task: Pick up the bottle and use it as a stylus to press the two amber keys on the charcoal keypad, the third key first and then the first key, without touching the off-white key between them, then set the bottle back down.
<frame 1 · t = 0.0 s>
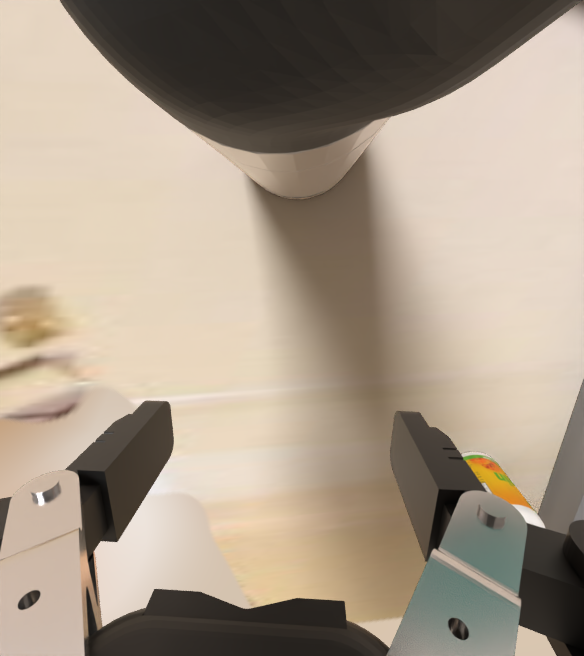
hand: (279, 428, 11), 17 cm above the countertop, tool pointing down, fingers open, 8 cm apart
supplement bottle: (468, 470, 32), on the countertop
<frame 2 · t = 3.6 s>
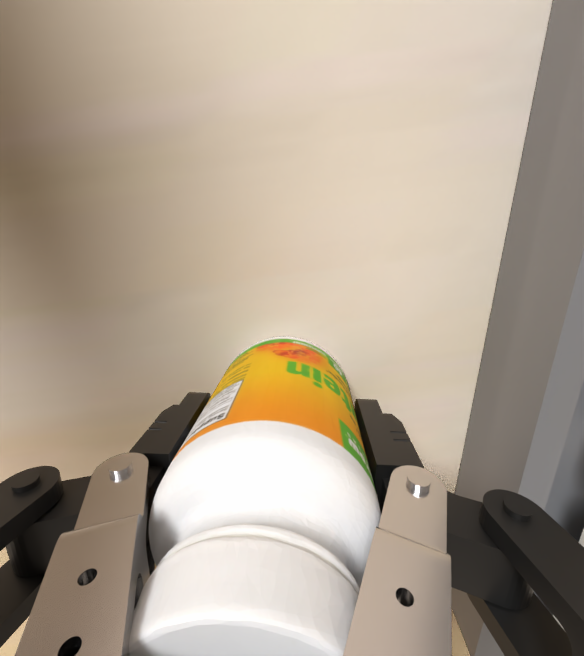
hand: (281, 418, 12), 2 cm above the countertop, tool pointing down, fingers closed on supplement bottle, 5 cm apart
supplement bottle: (286, 390, 14), on the countertop, touching gripper
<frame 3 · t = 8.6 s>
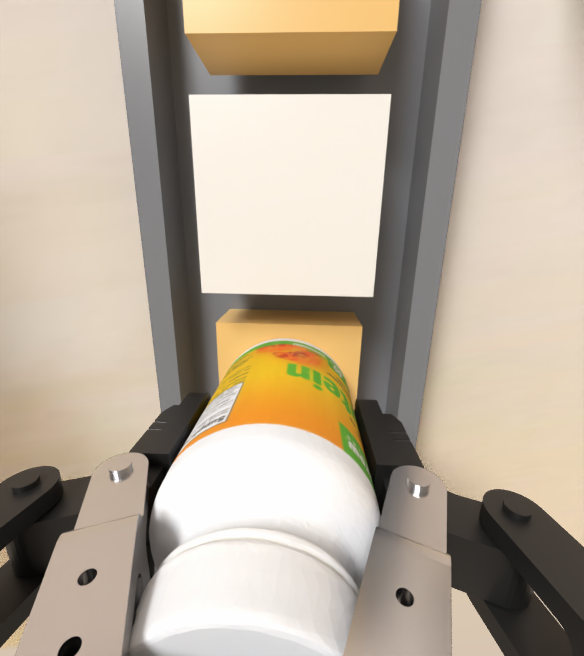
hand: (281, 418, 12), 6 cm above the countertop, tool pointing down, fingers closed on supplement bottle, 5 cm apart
key 2: (289, 206, 11), point 4 cm above the countertop, slide at 0.0 cm
keypad base: (293, 289, 17), on the countertop
key 3: (289, 378, 15), point 3 cm above the countertop, slide at 1.5 cm, touching supplement bottle, keypad base
supplement bottle: (286, 391, 14), point 4 cm above the countertop, touching gripper, key 3
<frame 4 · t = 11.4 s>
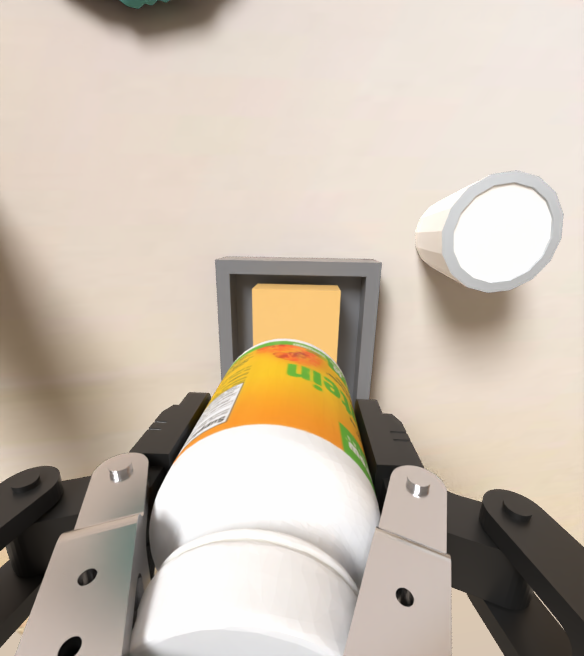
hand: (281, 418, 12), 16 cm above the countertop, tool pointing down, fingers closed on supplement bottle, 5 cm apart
white cup: (449, 234, 25), on the countertop
keypad base: (295, 426, 31), on the countertop
key 1: (296, 327, 23), point 4 cm above the countertop, slide at 0.0 cm
supplement bottle: (286, 391, 14), point 14 cm above the countertop, touching gripper
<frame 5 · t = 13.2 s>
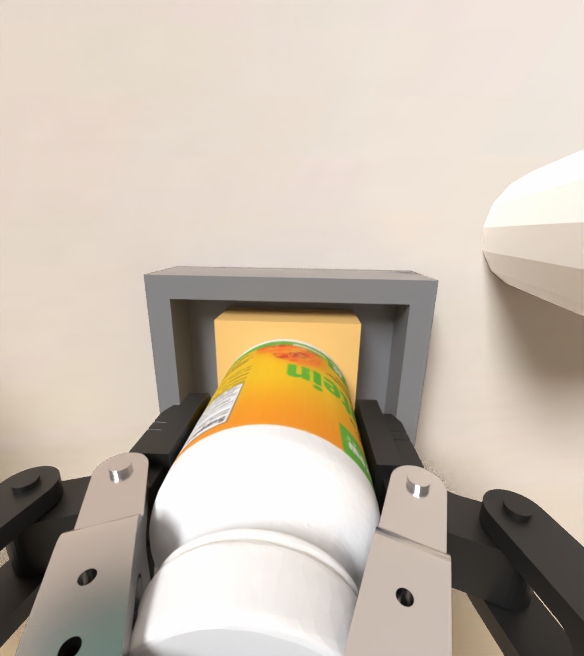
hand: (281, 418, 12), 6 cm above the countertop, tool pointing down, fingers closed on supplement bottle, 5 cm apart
white cup: (539, 231, 15), on the countertop
keypad base: (288, 515, 21), on the countertop
key 1: (288, 376, 15), point 3 cm above the countertop, slide at 1.5 cm, touching supplement bottle, keypad base
supplement bottle: (285, 392, 14), point 4 cm above the countertop, touching gripper, key 1
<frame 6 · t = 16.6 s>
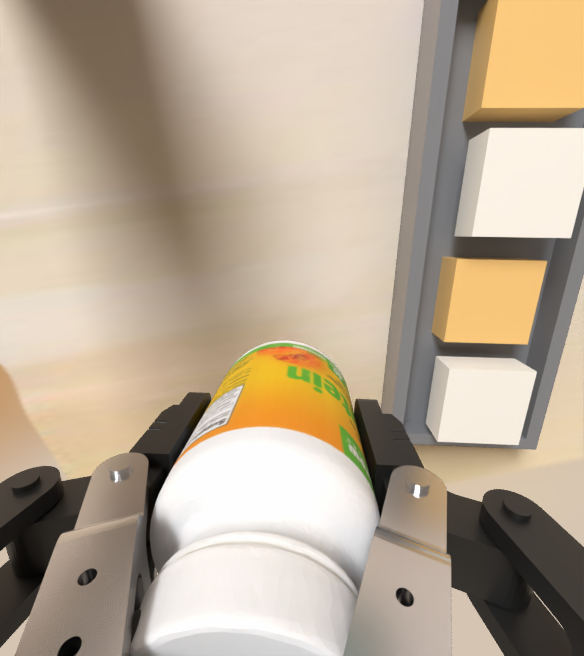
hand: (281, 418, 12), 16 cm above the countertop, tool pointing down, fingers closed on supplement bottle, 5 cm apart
key 2: (518, 188, 20), point 4 cm above the countertop, slide at 0.0 cm
keypad base: (474, 246, 25), on the countertop
key 3: (484, 299, 24), point 3 cm above the countertop, slide at 1.5 cm, touching keypad base
key 4: (476, 399, 24), point 4 cm above the countertop, slide at 0.0 cm
key 1: (529, 59, 19), point 3 cm above the countertop, slide at 1.5 cm, touching keypad base
supplement bottle: (285, 393, 14), point 14 cm above the countertop, touching gripper
when the fingers open (3 cm above the countertop, at t = 19.3 s): supplement bottle drops 1 cm, on the countertop.
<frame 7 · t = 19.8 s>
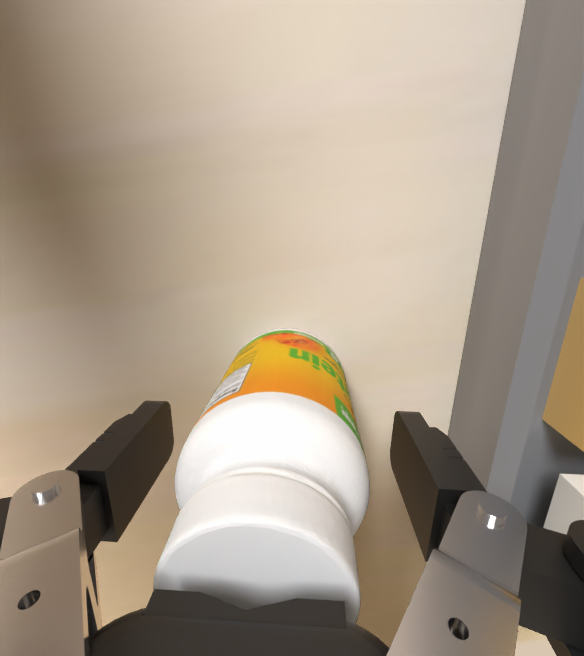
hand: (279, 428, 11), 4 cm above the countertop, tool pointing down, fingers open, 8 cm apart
supplement bottle: (287, 377, 15), on the countertop
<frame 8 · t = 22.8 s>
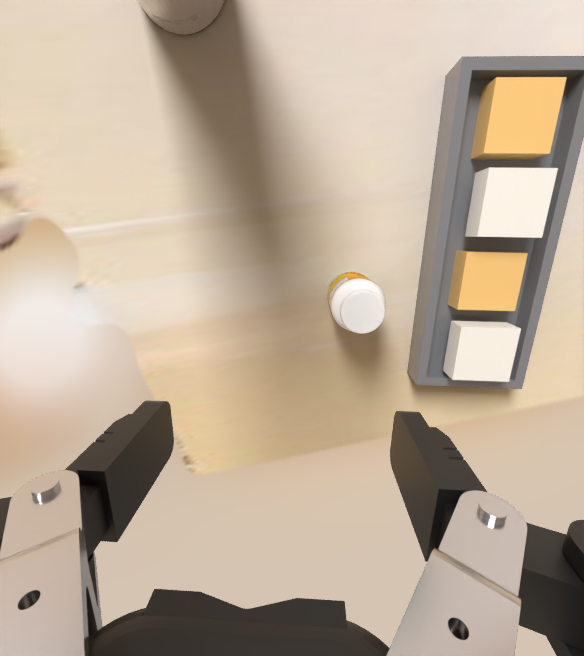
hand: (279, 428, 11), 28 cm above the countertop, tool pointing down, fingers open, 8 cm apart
key 2: (508, 204, 31), point 4 cm above the countertop, slide at 0.0 cm
keypad base: (478, 243, 36), on the countertop
key 3: (485, 280, 34), point 3 cm above the countertop, slide at 1.5 cm, touching keypad base
key 4: (479, 350, 35), point 4 cm above the countertop, slide at 0.0 cm
key 1: (515, 121, 30), point 3 cm above the countertop, slide at 1.5 cm, touching keypad base
supplement bottle: (349, 293, 38), on the countertop
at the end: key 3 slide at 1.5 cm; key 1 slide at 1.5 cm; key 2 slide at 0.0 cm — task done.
